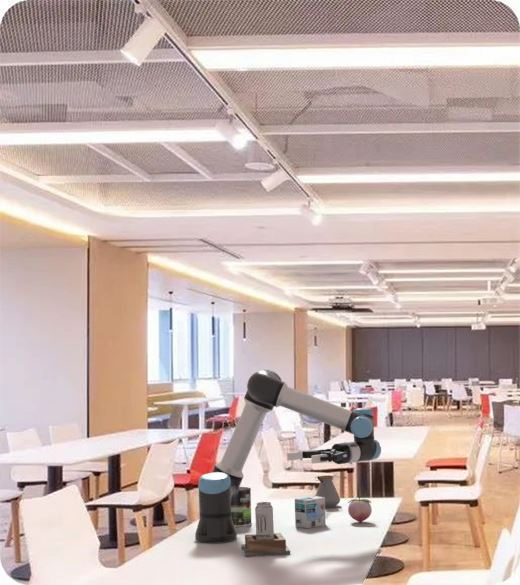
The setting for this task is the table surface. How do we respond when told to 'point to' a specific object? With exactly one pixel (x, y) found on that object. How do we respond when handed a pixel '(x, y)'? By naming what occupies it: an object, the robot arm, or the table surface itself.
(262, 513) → the energy drink can
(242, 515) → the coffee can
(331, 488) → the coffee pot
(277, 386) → the robot arm
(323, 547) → the table surface
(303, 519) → the light bulb box
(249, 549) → the brown wooden open box
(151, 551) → the table surface
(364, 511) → the decorative fruit
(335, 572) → the table surface
